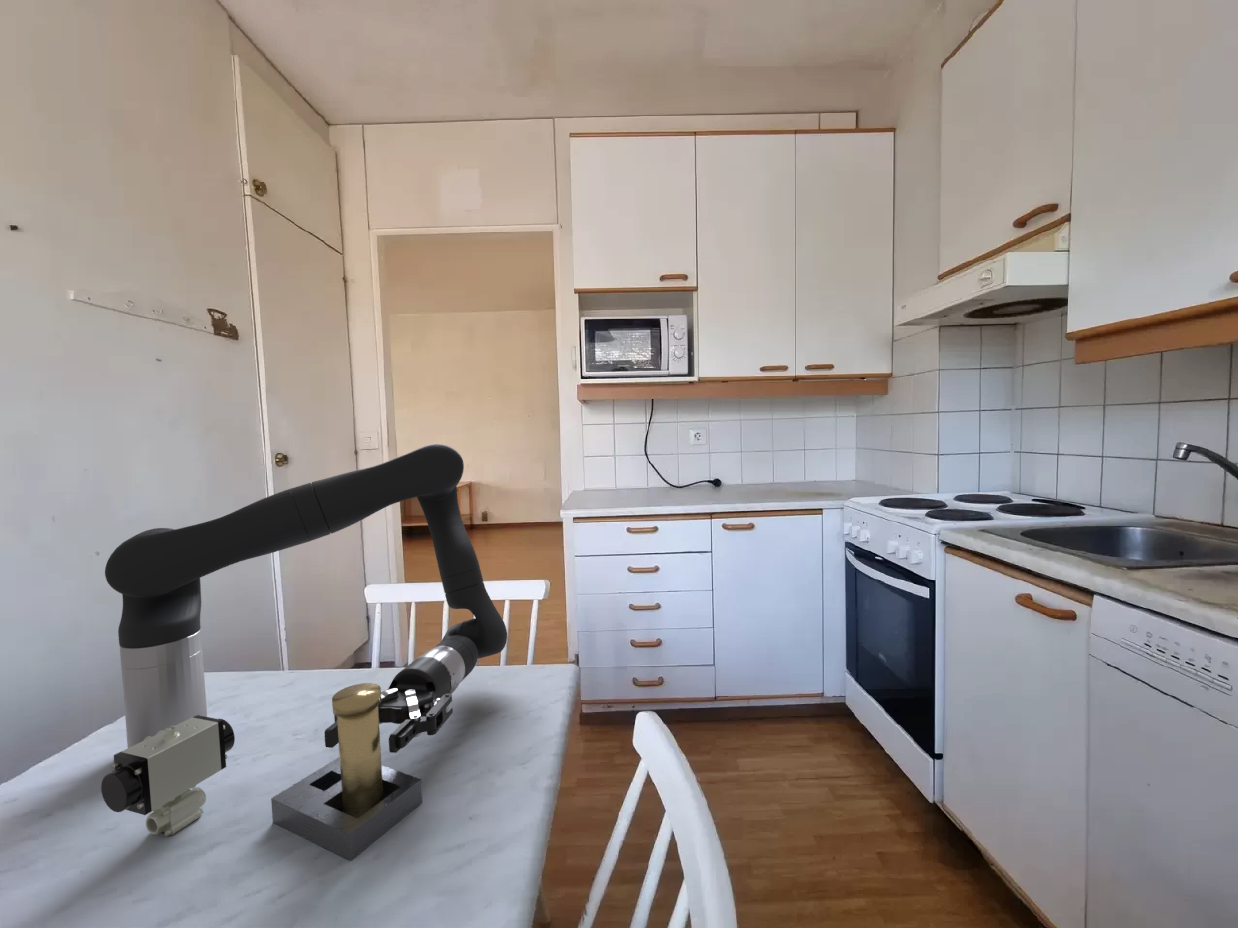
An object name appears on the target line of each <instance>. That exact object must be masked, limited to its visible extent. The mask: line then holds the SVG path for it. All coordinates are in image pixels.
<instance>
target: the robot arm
mask: <svg viewBox="0 0 1238 928" xmlns="http://www.w3.org/2000/svg"><path fill="white" fill-rule="evenodd" d="M464 466H465V465H464V460H463V457H462V455H461V454H460V453H459V452H458V451H457V450H456V448H454V447H452V446H449V445H446V444H442V443H441V444H440V443H431V444H428V445H424V446H422V447H419V448H417V449H415V450H412V451H410V452H408V453H405V454H403V455H399V456H397V457H396V458H393V459H391V460H388V461H386V462H383V463H379V464H377V465H373V466H370V467H366V468H361V469H357V470H352V471H348V472H344V473H341V474H337V475H334V476H331V477H326V478H323V479H318V480H316V481H315V480H314V481H312V482H309V483H305V484H301V485H298V486H295V487H291V488H288V489H285V490H282V491H280V492H279V491H278V492H277V493H274V494H271V495H269V496H267V497H264V498H262V499H261V498H260V499H259V500H257V501H255V502H253V503H249V504H247V505H246V506H243V507H241V508H239V509H237V510H235V511H232V512H231V513H228V514H226V515H224V516H221V517H218V518H215V519H211V520H208V521H204V522H201V523H196V524H193V525H188V526H185V527H181V528H176V529H174V528H169V527H156V528H151V529H147V530H145V531H141V532H140V533H137V534H135V535H134V536H132V537H130V538H128V539H126V540H124V541H123V542H122V543H120V544H119V545H118V546H117V547H116V548H115V549H114V550H113V552H111V554H110V555H109V557H108V559H107V562H106V565H105V569H104V577H105V579H106V582H107V584H108V585H109V586H110V587H111V588H112V589H113V590H114V591H116V592H118V593H119V594H121V595H122V596H121V597H122V609H121V611H122V612H121V617H120V621H119V623H118V624H119V625H118V629H117V630H118V631H117V633H118V646H119V656H120V658H119V659H120V666H121V679H122V680H121V681H122V691H123V693H122V694H123V706H124V716H125V717H124V718H125V728H126V729H125V730H126V744H127V749H128V748H130V747H132V746H134V745H136V744H138V743H140V742H142V741H144V739H145V738H146V737H148V736H151V737H153V736H155V735H157V733H158V732H159V731H161V730H163V731H165V729H166V728H170V726H173V725H174V726H176V725H178V724H180V723H182V722H184V721H186V720H188V719H190V718H192V717H194V716H197V715H200V716H205V717H208V708H207V694H206V681H205V669H204V665H205V664H204V655H203V641H202V630H201V628H202V627H201V611H202V593H201V592H202V590H201V589H202V587H201V578H203V577H205V576H208V575H210V574H213V573H215V572H217V571H219V570H222V569H224V568H227V567H229V566H231V565H234V564H237V563H240V562H243V561H246V560H251V559H254V558H259V557H262V556H266V555H269V554H272V553H275V552H279V551H282V550H286V549H289V548H292V547H295V546H299V545H302V544H305V543H309V542H311V541H314V540H317V539H320V538H323V537H326V536H329V535H331V534H334V533H337V532H339V531H341V530H345V529H346V528H349V527H350V526H353V525H354V524H357V523H359V522H361V521H363V520H364V519H365V520H366V519H367V518H369V517H370V516H372V515H373V514H375V513H377V512H379V511H381V510H382V509H385V508H387V507H389V506H391V505H394V504H397V503H399V502H404V501H407V500H410V499H414V498H417V501H418V503H419V505H420V507H421V510H422V512H423V515H424V518H425V521H426V523H427V526H428V529H429V532H430V536H431V539H432V544H433V545H432V546H433V550H434V553H435V558H436V563H437V566H438V571H439V576H440V580H441V583H442V588H443V592H444V595H445V596H444V597H445V600H446V603H447V605H448V607H449V608H450V609H453V610H468V611H470V612H471V614H472V615H473V617H475V618H470V619H468V620H464V621H461V622H459V623H456V624H454V625H453V626H451V627H449V629H447V631H446V632H445V634H444V636H443V638H442V639H441V641H440V642H439V643H438V644H436V645H435V646H434V647H432V648H431V649H430V650H427V651H426V652H424V653H422V654H421V655H419V656H418V657H417V658H416V659H414V660H413V661H412V662H411V663H409V664H408V665H406V667H404V668H403V669H402V670H400V671H399V672H398V673H397V674H396V675H395V676H394V677H393V678H392V681H391V682H390V684H389V687H388V688H387V689H386V690H384V691H381V703H380V705H379V706H378V713H379V725H381V724H387V723H388V724H389V723H391V724H394V725H395V724H396V725H398V727H396V728H395V730H394V731H392V732H391V733H390V734H389V736H388V751H389V753H392V754H393V753H395V754H396V753H398V752H399V751H400V750H401V749H403V748H405V747H406V746H407V745H408V744H409V743H410V742H411V741H412V740H414V738H417V737H420V736H421V735H422V733H426V734H427V735H428V736H434V735H436V734H437V733H438V732H439V731H440V729H441V728H442V726H443V725H444V724H445V723H446V721H448V719H449V718H450V716H451V715H452V714H453V711H454V709H453V693H454V692H455V691H456V690H457V688H458V687H459V686H460V685H461V683H462V682H463V681H464V680H465V679H466V677H468V675H469V674H470V673H471V672H472V671H473V670H474V668H475V667H476V665H477V662H478V660H479V659H482V658H486V657H490V656H494V655H498V654H500V653H501V652H502V651H503V650H504V649H505V647H506V644H507V641H508V630H507V626H506V624H505V622H504V620H503V618H502V616H501V615H500V613H499V611H498V610H497V608H496V606H495V605H494V602H493V601H492V599H491V597H490V595H489V594H488V591H487V590H486V586H485V583H484V578H483V574H482V570H481V567H480V564H479V559H478V555H477V554H476V551H475V549H474V545H473V543H472V541H471V539H470V537H469V534H468V532H467V530H466V527H465V524H464V521H463V518H462V515H461V511H460V507H459V498H458V489H457V486H458V484H459V483H460V481H461V479H462V477H463V475H464ZM333 715H334V714H333ZM333 721H334V722H333V723H332V724H331V725H330V726H329V727H327V728H325V730H324V746H325V748H331V749H333V748H335V746H337V744H338V745H339V739H338V724H337V716H336V715H334V720H333Z"/></svg>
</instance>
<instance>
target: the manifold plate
mask: <svg viewBox="0 0 1238 928" xmlns="http://www.w3.org/2000/svg"><path fill="white" fill-rule="evenodd" d="M382 780H383V797H384V799H383V800H382V801H381V802H379V803H378V804H377V805H375V806H374V807H373V808H371V809H370V810H369V811H367V812H366V813H365V814H363V815H362V816H361V817H359V818H358V819H357V818H355V817H352V816H350V815H348V814H346V813H343V801H342V786H341V770H340V756H339V757H336V758H335V759H333V760H332V761H330V762H329V763H327V764H325V765H324V766H323V767H321V768H319V769H317V770H316V771H314V772H312V773H311V774H308V775H307V776H306V777H304V778H303V779H301V780H299V781H297V782H296V783H294V784H293V785H290V786H289V787H288V788H286V789H285V790H283V791H281V792H279V793H278V794H276V795H274V796H273V797H271V798H270V799H271V812H272V813H271V815H272V823H273V824H275V825H277V826H279V827H281V828H282V829H285V830H287V831H289V832H291V833H293V834H295V835H298V836H299V837H301V838H302V839H304V840H308V841H310V842H311V843H313V844H316V845H318V846H319V847H321V848H323V849H325V850H328V851H329V852H331V853H334V854H335V855H336V856H337V855H338V856H340V857H342V858H344V859H345V860H348V861H350V862H351V861H353V859H355V858H356V857H357V856H359V854H361V853H362V852H364V851H365V850H366V849H367V848H368V847H370V846H371V845H372V844H373V843H375V842H376V841H377V840H378V839H379V838H381V837H382V836H383V835H384V834H385V833H387V832H388V831H389V830H390V829H392V828H393V827H395V826H396V825H397V824H398V823H399V822H400V821H401V820H403V819H404V818H406V817H407V815H409V814H410V813H411V812H412V811H414V810H415V809H417V807H419V806H420V805H421V804H422V803H423V793H422V791H423V789H422V779H421V778H418V777H417V776H416V777H415V776H414V775H409V774H408V773H404V772H401V771H399V770H396V769H393V768H390V767H389V766H385V765H383V764H382Z"/></svg>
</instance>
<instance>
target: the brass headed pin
mask: <svg viewBox="0 0 1238 928" xmlns="http://www.w3.org/2000/svg"><path fill="white" fill-rule="evenodd" d="M381 689H382V687H381V686H380V685H379V684H377V683H374V682H364V683H356V684H352V685H350V686H347V687H344V688H342V689H340V690H339V691H337V692H335V694H333V696H332V698H331V703H332V704H331V706H332V714H333V715H336V716H337V724H338V739H339V743H338V752H339V755H338V756H339V757H340V770H341V786H342V801H343V813H346V814H348V815H350V816H352V817H355V818H357V819H358V818H359V817H361V816H362V815H363V814H365V813H366V812H367V811H369V810H370V809H371V808H373V807H374V806H375V805H377V804H378V803H379V802H381V801H382V800H383V799H384V797H383V780H382V765H383V763H382V749H381V747H382V746H381V733H380V732H381V731H380V724H379V713H378V706H379V705H380V703H381V692H382V690H381Z"/></svg>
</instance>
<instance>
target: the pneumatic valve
mask: <svg viewBox="0 0 1238 928" xmlns="http://www.w3.org/2000/svg"><path fill="white" fill-rule="evenodd" d="M235 738H236V737H235V731H234V729H233V727H232V725H231V724H230V723H229V722H228V721H227V720H225V719H223V718H214V717H209V716H207V717H205V716H200V715H197V716H194V717H192V718H190V719H188V720H186V721H184V722H182V723H180V724H178V725H176V726H174V725H173V726H170V728H166V729H165V731H163V730H161V731H159V732H158V733H157V735H155V736H153V737H151V736H148V737H146V738H145V739H144V741H142V742H140V743H138V744H136V745H134V746H132V747H130V748H128V747H127V748H126V749H125V748H124V749H123V750H121V751H120V752H117V753H115V754H114V755H113V762H114V763H113V764H112V765H111V769H112V771H111V772H109V773H107V774H106V775H104V777H103V778H102V781H101V786H100V788H101V790H100V791H101V795H102V798H103V801H104V803H105V804H106V806H107V807H108V809H110V810H112V812H115V813H121V812H123V811H129V812H132V813H136V814H139V815H143V816H146V815H148V814H149V815H148V816H147V817H146V819H145V826H146V827H145V828H146V830H147V831H148V832H149V834H151V835H153V836H154V835H160V834H161V833H163V834H164V836H165V837H168V836H173V835H175V834H176V833H178V832H179V831H181V830H183V829H184V828H186V827H188V826H189V825H190V824H191V823H193V822H195V821H196V820H197V819H200V818H201V817H202V814H203V813H204V810H203V809H202V807H204V805H205V803H206V801H207V796H206V793H205V791H204V789H202V788H201V787H197V785H199V784H201V783H202V782H204V781H205V780H207V779H209V778H210V777H212V776H214V775H215V774H217V773H219V772H220V771H222V770H224V769H225V768H227V758H228V754H226V753H228V752H230V751H231V750H232V749H233V747H234V745H235V740H236V739H235Z"/></svg>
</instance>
